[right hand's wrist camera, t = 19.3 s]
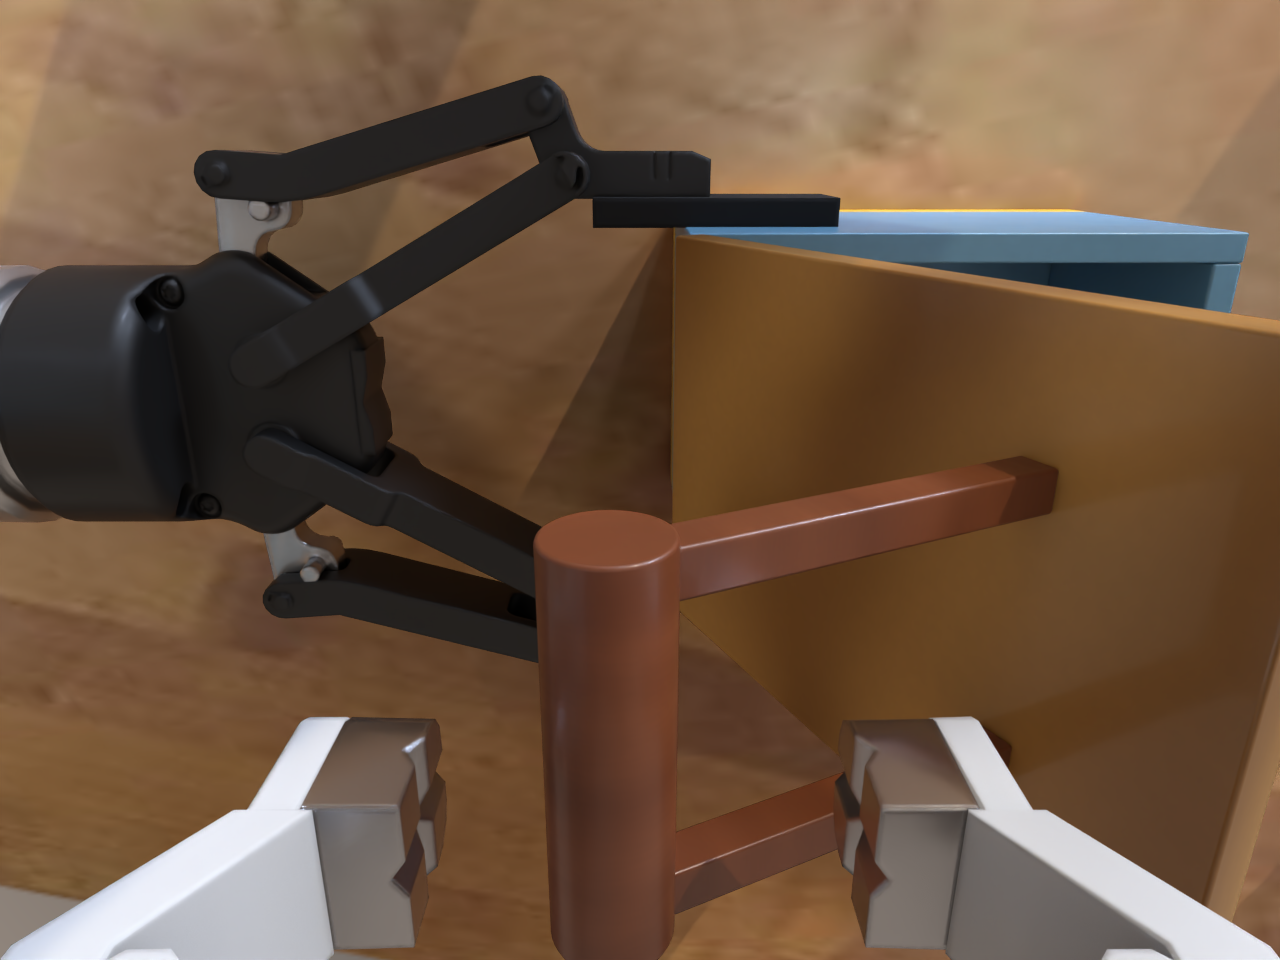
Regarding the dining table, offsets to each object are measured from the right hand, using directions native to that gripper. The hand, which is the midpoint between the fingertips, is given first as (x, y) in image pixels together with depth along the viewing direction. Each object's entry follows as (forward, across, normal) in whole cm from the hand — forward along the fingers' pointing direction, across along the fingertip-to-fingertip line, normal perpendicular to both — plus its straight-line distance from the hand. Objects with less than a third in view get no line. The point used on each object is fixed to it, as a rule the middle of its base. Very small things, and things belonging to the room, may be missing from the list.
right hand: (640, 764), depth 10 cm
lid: (+7, +5, 0) cm, 8 cm away
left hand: (+17, +5, 0) cm, 18 cm away
